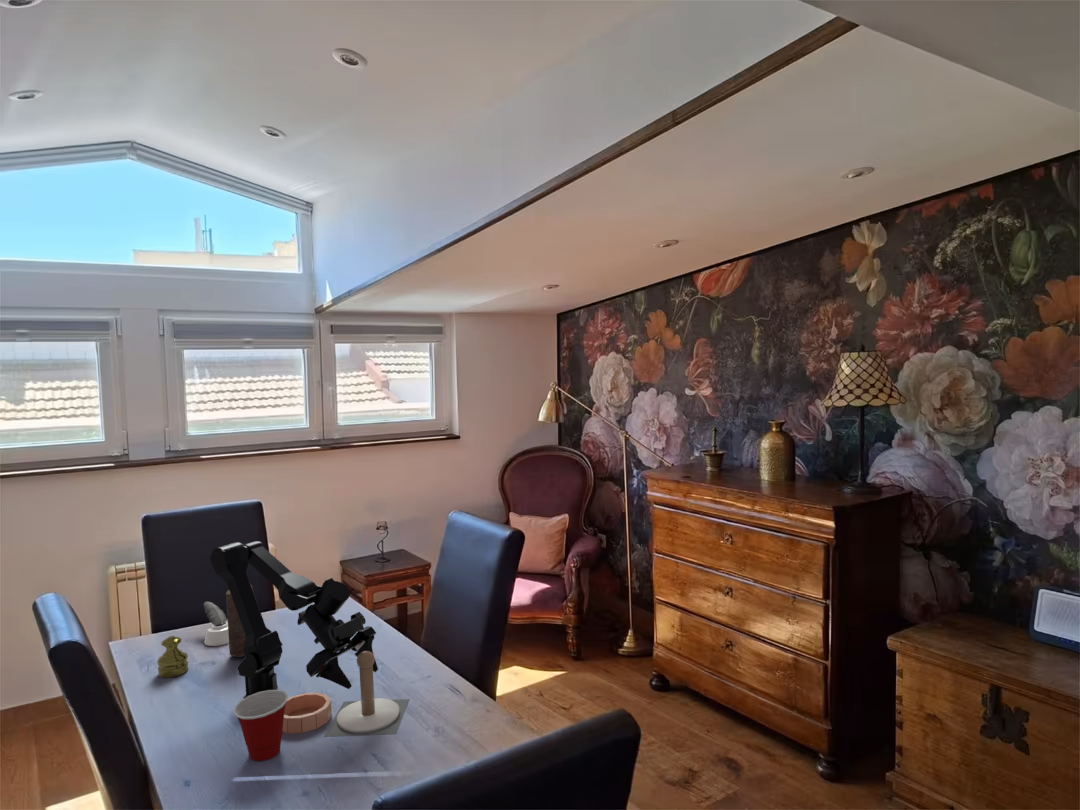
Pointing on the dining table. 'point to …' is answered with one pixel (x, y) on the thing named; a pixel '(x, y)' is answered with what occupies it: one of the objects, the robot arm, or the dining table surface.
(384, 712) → the peg stand
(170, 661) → the olive green figurine
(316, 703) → the bowl
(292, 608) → the robot arm
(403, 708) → the mat
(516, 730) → the dining table surface
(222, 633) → the inkwell
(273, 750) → the plastic cup
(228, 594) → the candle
